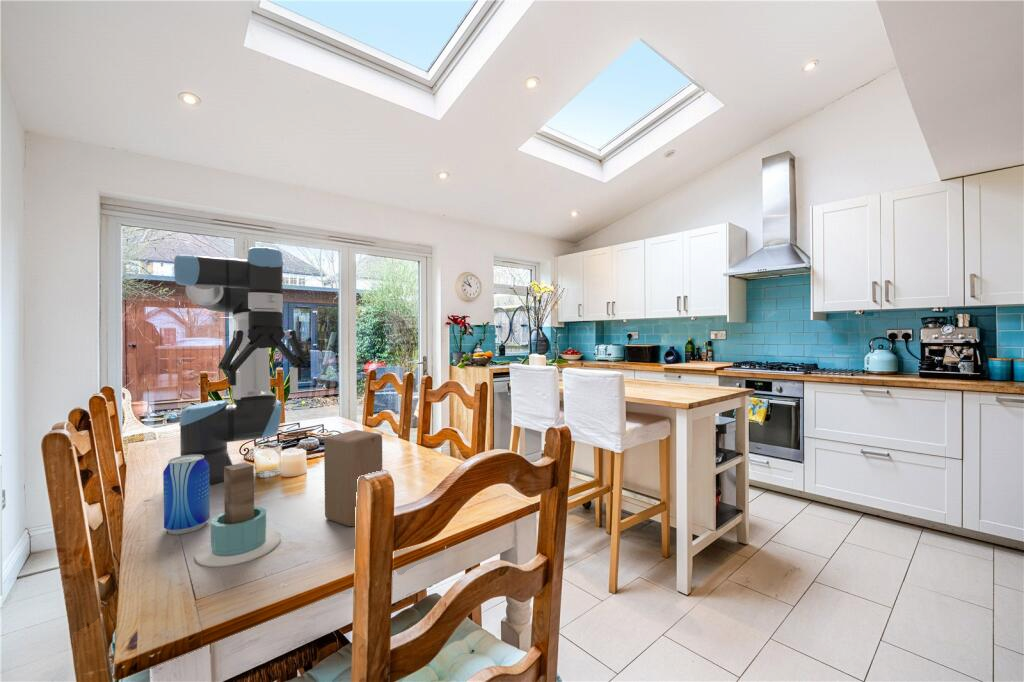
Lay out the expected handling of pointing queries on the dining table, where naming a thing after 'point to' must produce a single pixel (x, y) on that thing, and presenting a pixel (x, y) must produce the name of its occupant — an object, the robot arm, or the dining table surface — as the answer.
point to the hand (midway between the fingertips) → (266, 395)
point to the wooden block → (348, 470)
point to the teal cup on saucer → (237, 541)
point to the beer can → (186, 494)
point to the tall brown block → (239, 493)
